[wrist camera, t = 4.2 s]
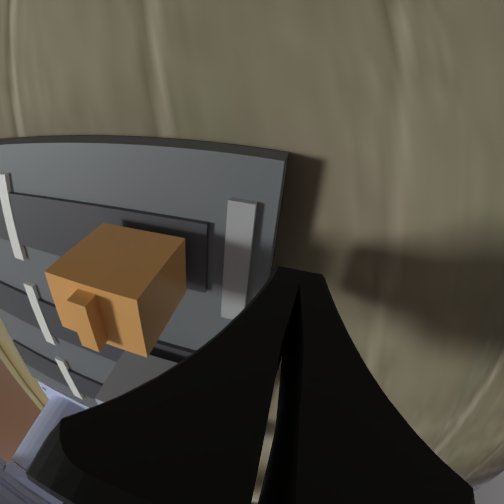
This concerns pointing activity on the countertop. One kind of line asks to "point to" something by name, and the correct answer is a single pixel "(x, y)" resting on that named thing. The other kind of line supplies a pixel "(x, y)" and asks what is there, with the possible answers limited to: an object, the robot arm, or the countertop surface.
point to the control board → (137, 217)
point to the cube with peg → (131, 374)
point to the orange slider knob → (119, 287)
